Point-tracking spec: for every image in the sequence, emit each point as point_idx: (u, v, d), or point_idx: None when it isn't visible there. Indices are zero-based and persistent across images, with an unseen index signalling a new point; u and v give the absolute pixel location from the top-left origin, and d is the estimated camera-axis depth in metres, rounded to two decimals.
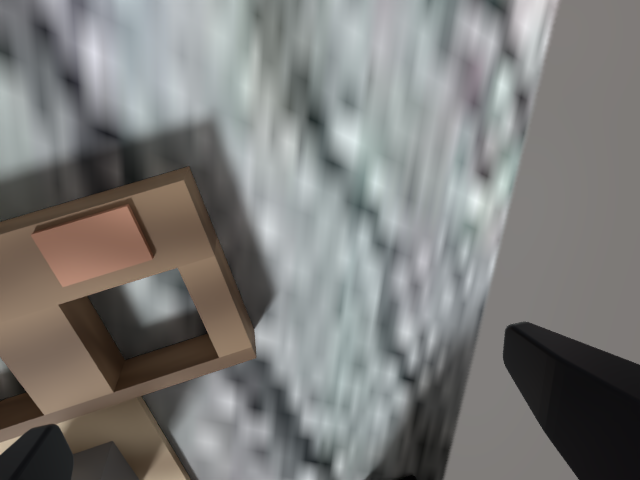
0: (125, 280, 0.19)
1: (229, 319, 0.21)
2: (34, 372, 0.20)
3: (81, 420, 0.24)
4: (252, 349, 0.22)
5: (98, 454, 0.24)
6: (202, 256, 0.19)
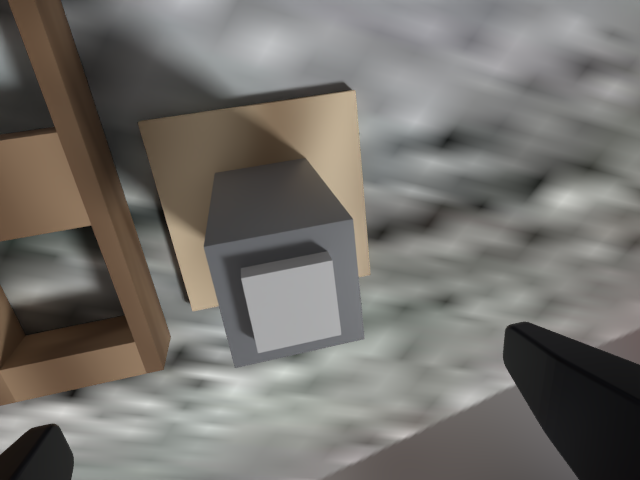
0: None
1: None
2: (11, 216, 0.15)
3: (169, 199, 0.18)
4: None
5: None
6: None
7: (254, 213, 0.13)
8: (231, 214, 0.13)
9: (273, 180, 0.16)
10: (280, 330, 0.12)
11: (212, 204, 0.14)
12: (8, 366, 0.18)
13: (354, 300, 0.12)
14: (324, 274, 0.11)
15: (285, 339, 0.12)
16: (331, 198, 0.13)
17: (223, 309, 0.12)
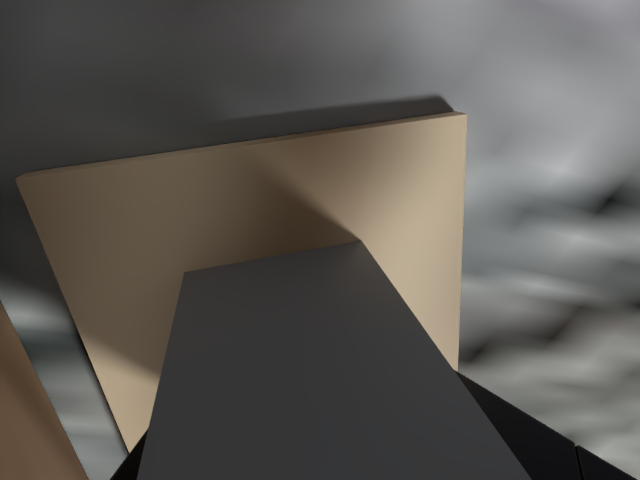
0: None
1: None
2: None
3: (93, 321, 0.09)
4: None
5: None
6: None
7: None
8: None
9: (309, 324, 0.07)
10: None
11: (152, 440, 0.05)
12: None
13: None
14: None
15: None
16: (513, 478, 0.04)
17: None
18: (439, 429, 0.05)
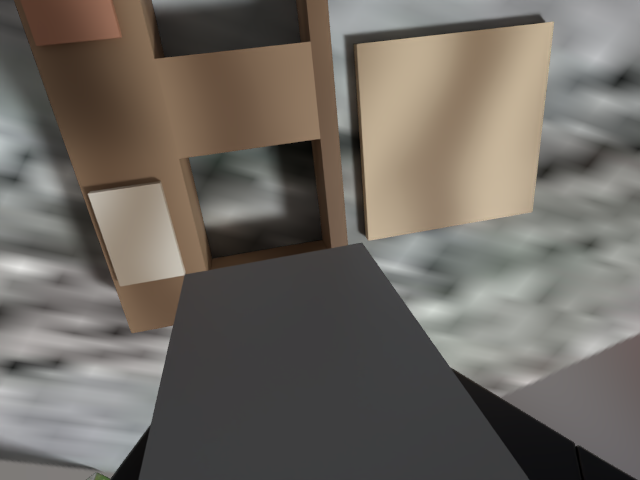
0: None
1: None
2: (253, 125, 0.16)
3: (369, 123, 0.19)
4: None
5: None
6: None
7: None
8: None
9: (309, 326, 0.07)
10: None
11: (153, 444, 0.05)
12: None
13: None
14: None
15: None
16: None
17: None
18: (440, 433, 0.05)
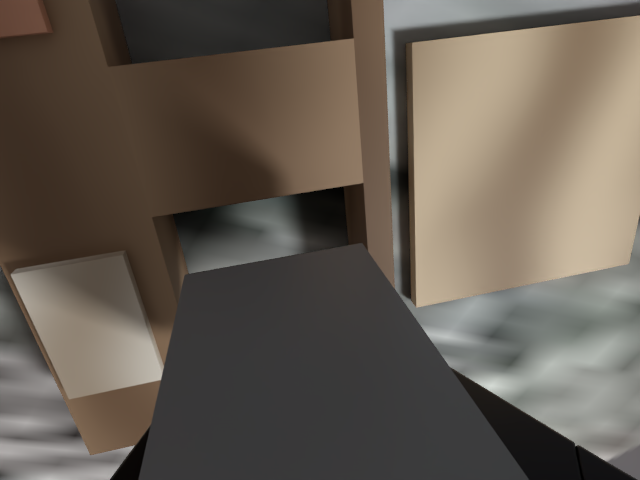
0: None
1: None
2: (264, 165, 0.11)
3: (425, 154, 0.13)
4: None
5: None
6: None
7: None
8: None
9: (309, 327, 0.07)
10: None
11: (153, 445, 0.05)
12: None
13: None
14: None
15: None
16: None
17: None
18: (440, 434, 0.05)
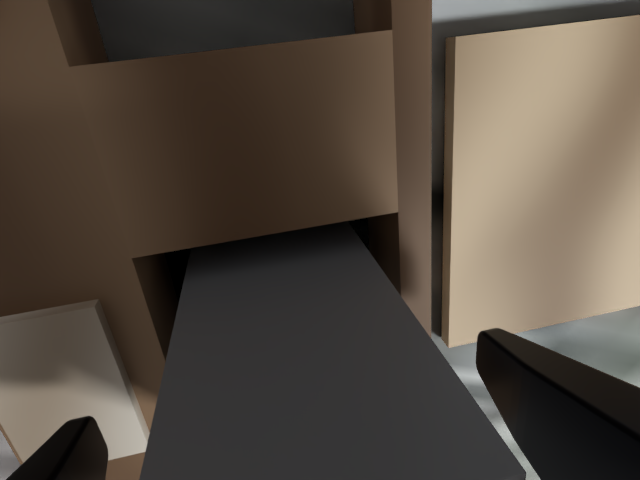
0: None
1: None
2: (274, 192, 0.08)
3: (465, 172, 0.11)
4: None
5: None
6: None
7: (260, 395, 0.06)
8: (209, 387, 0.06)
9: (294, 270, 0.09)
10: None
11: (175, 340, 0.07)
12: None
13: None
14: None
15: None
16: (429, 353, 0.06)
17: None
18: (384, 329, 0.07)
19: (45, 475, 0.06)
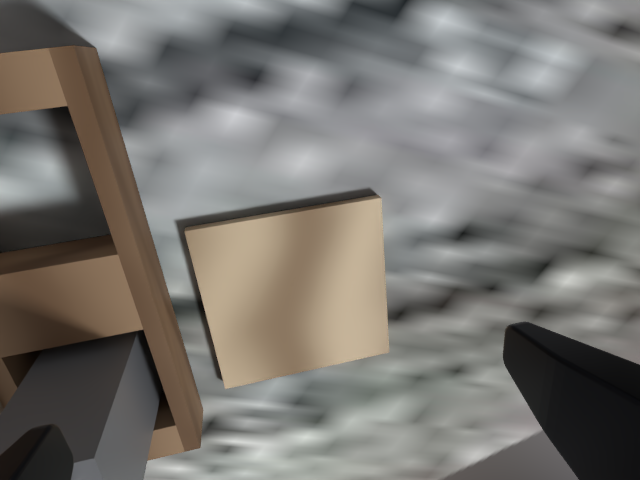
0: None
1: None
2: (72, 324, 0.17)
3: (209, 294, 0.20)
4: (55, 48, 0.13)
5: None
6: None
7: None
8: (11, 426, 0.14)
9: (87, 360, 0.17)
10: None
11: (10, 402, 0.15)
12: None
13: None
14: None
15: None
16: (105, 411, 0.15)
17: None
18: (98, 398, 0.15)
19: None
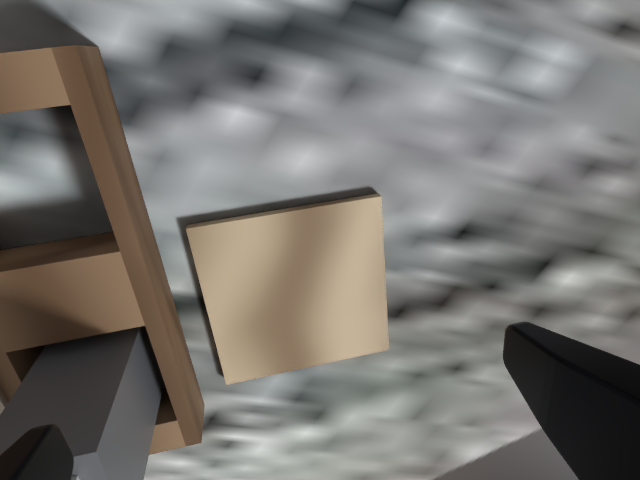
0: None
1: None
2: (75, 320, 0.17)
3: (210, 291, 0.20)
4: (58, 48, 0.13)
5: None
6: None
7: (32, 423, 0.14)
8: (15, 419, 0.15)
9: (90, 355, 0.18)
10: None
11: (14, 396, 0.16)
12: None
13: None
14: None
15: None
16: (107, 405, 0.15)
17: None
18: (100, 393, 0.15)
19: None
